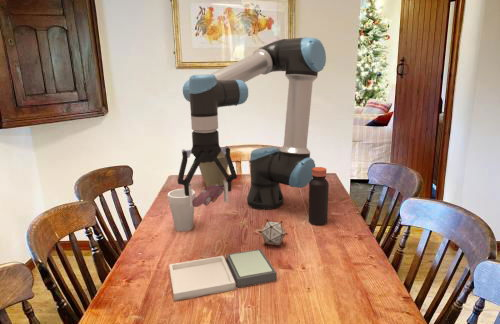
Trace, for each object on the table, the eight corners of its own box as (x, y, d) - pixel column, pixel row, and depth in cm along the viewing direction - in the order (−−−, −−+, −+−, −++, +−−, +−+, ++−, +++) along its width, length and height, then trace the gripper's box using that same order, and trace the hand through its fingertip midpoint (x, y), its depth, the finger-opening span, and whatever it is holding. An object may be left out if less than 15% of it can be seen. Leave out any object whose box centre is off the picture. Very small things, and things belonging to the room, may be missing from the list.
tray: (223, 261, 111) (223, 255, 110) (235, 289, 97) (235, 282, 97) (169, 270, 107) (169, 264, 106) (174, 300, 93) (173, 293, 92)
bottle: (308, 217, 140) (310, 165, 135) (327, 218, 139) (329, 166, 134) (307, 225, 134) (308, 171, 129) (327, 226, 132) (329, 171, 127)
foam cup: (191, 234, 129) (189, 198, 125) (166, 232, 131) (163, 197, 127) (200, 222, 138) (198, 189, 134) (176, 221, 140) (174, 188, 136)
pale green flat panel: (259, 253, 112) (259, 250, 112) (272, 274, 101) (272, 270, 100) (229, 258, 109) (229, 254, 109) (240, 280, 98) (240, 276, 98)
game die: (278, 252, 123) (296, 228, 122) (271, 255, 115) (290, 230, 114) (257, 235, 125) (274, 211, 124) (249, 237, 118) (268, 212, 117)
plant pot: (198, 182, 184) (196, 150, 180) (229, 181, 185) (228, 149, 181) (198, 192, 169) (196, 158, 165) (231, 191, 171) (229, 157, 167)
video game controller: (200, 214, 109) (207, 195, 106) (189, 205, 111) (196, 186, 108) (221, 203, 117) (228, 185, 114) (210, 194, 119) (217, 177, 116)
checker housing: (260, 256, 113) (260, 248, 113) (276, 280, 101) (276, 272, 100) (226, 262, 110) (226, 254, 110) (238, 287, 98) (237, 279, 97)
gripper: (240, 125, 113) (242, 195, 119) (163, 130, 108) (169, 203, 113) (246, 129, 106) (248, 203, 112) (165, 135, 101) (171, 212, 106)
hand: (208, 203), depth 113 cm, fingers closed on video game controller, 10 cm apart
